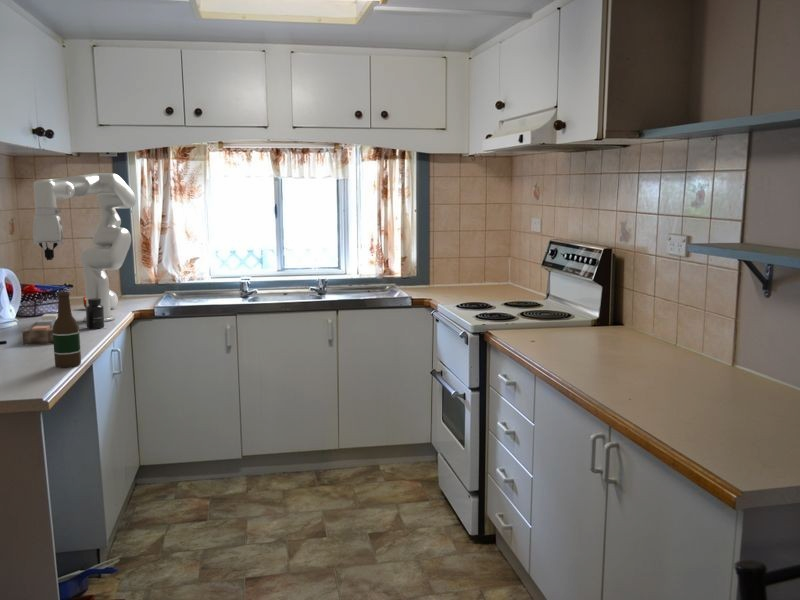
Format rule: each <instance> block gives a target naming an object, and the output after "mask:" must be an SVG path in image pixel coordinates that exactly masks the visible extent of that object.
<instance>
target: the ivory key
mask: <svg viewBox="0 0 800 600" xmlns="http://www.w3.org/2000/svg"><path fill="white" fill-rule="evenodd" d="M57 318H58V313H44V314H43V315H41V320H49V319H55V321H56V319H57Z"/></svg>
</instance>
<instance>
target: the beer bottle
mask: <svg viewBox="0 0 800 600" xmlns="http://www.w3.org/2000/svg"><path fill="white" fill-rule="evenodd" d="M70 295H71V293H70V292H69V291H66V290H65V291H59V292H57V295H56V296H57V303H58V304H57V307H58V308H57V309H58V310H57V314H58V318H57V319H56V321H55V323H54V326H53V355H54V357H53V358H54V365H55V367H56V368H58V367H61V368H60V369H66V368H65V367H72V368H75V367H79V366H80V365H81V364H82V355H81V354H82V353H81V339H80V327H79V324H78V321H77V320H76V318H75V317H74V316H73V313H72V307H71V300H70ZM62 367H63V368H62Z"/></svg>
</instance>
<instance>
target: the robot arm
mask: <svg viewBox="0 0 800 600" xmlns="http://www.w3.org/2000/svg"><path fill="white" fill-rule="evenodd" d="M33 194H34V195H33V197H34V207H35V209H34V210H35V211H34V212H35V215H34V216H33V223H32V238H33V245H35V246H38V247H40V248H42V249H43V250H44V251H43V252H44V258H46V260H47V261H52V260H54V258H55V251H54V250H55V249H56V248H57V246H61V245H64V242H65V241H64V231H63V223H62V219H61V217H60V216H61V215H59V214H61V213H62V209H59V208H58V206H57V200H68V199H71V198H72V197H73V198H74V197H86V196H91V195H96V194H97V195H96V200H97V205H98V207H99V211H100V216H101V217H100V221H99V223H98V226H97V228H96V230H95V232H94V234H93V238H92V243H93V244H94V246H95V247H87V248H85V249H84V250H83V251H82V252H81V255H80V261H81V265H82V269H83V276H84V285H85V286H84V287H85V289H84V290H85V297H86V305H87V306H88V305H89V304H88V299H93V298H99V299H101V303H100V305H102V306H103V307H104V322H109V321H112V320H115V319H116V318H115V317H116V316H115V315H113V314H111V311H112V310H111V309H110V293H109V290H110V279H109V276H108V274H107V273H106V271H116V270H119V269H120V268H121V267H122V266H123V264H124V262H125V260H126V257H127V255H128V252H129V250H130V246H131V243H132V235H131V233H130V231H129V230H128V229H127V228H126V227H121V225H122V219H121V217H120V215H119V213H118V212H117V210H116V209H122V210H123V209H125V210H126V209H132V208H133V207H134V206H135V205H136V201H137V199H136V194H135V193H134V191H133V189H132V188H131V187H130V186H129V185H128V184H127V183H126V181H125V180H124V179H123V178H122V177H121V176H120V175H118V174H116V173H113V172H112V173H110V172H108V173H107V172H105V173H104V172H100V173H99V172H96V173H88V174H81V175H75V176H67V177H57V178H49V179H42V180H35V181H34V182H33ZM48 243H49V245H48ZM83 322H86V316H84V317H83Z"/></svg>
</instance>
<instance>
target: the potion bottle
mask: <svg viewBox="0 0 800 600" xmlns="http://www.w3.org/2000/svg"><path fill="white" fill-rule="evenodd" d="M109 293H110V310H111V309H114V308H115V307H116V306H117V304H119V297H118V295H117V293H116V292H115V291H114V290H111V289H109ZM82 298H83V300H82V301H83V307H84V308H85V309H86V307H87V305H86V296H84V297H82Z"/></svg>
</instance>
